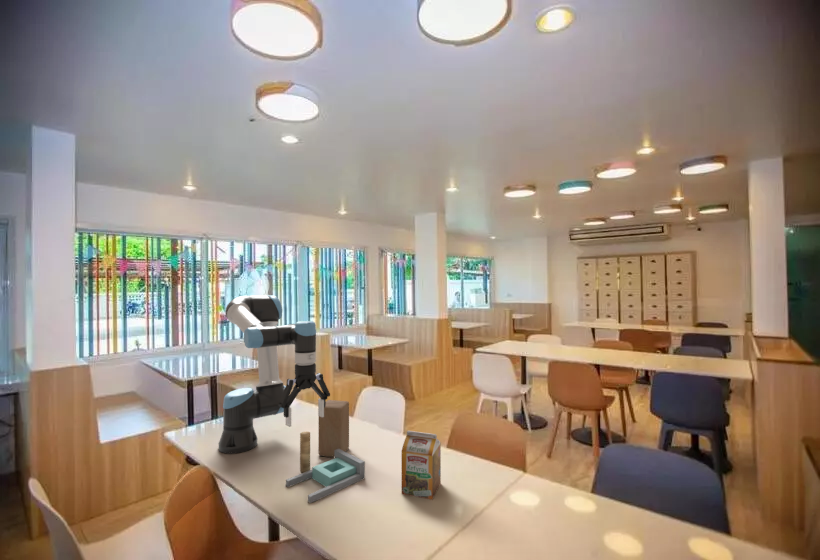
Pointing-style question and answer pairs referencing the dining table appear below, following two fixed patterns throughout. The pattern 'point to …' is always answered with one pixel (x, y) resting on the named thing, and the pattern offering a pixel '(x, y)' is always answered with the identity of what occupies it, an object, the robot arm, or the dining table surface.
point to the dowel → (304, 452)
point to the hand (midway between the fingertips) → (305, 421)
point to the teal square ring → (332, 471)
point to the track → (338, 485)
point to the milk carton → (421, 465)
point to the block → (334, 428)
